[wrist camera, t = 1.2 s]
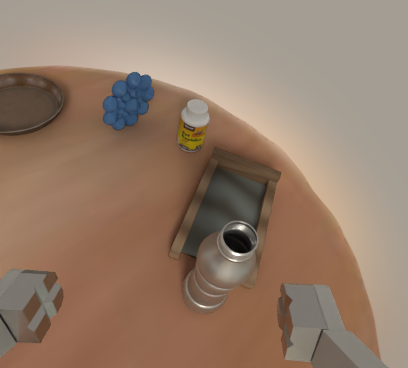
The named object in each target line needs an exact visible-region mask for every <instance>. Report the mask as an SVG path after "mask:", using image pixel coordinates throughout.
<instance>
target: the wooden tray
mask: <svg viewBox="0 0 408 368" xmlns="http://www.w3.org/2000/svg"><path fill="white" fill-rule="evenodd" d="M280 176H281V172H279V171H277V170H274V169H272V168H269V167H266V166H264V165H261V164H258V163H256V162H253V161H251V160H248V159H245V158H243V157H240V156H237V155H235V154H232V153H230V152H227V151H224V150H222V149H219V148H216V147H215V148H214V150H213V153H212V156H211V159H210V161H209V163H208V166H207V168H206V170H205V172H204V175H203V177H202V179H201V181H200V184H199V186H198V188H197V190H196V193H195V195H194V197H193V200H192V202H191V204H190V206H189V209H188V211H187V213H186V215H185V218H184V220H183V222H182V225H181V227H180V229H179V231H178V234H177V236H176V238H175V240H174V243H173V245H172V247H171V250H170V253H169V257H171V258H173V259H176V260H178V259H179V257H180V254H181V252H183V253H185V254H188V255H190V256H193V257H195V258H197V253H198V249H199V247H200V245H201V243H202V242H203V240H204V239H205V238H206V237H208V236H209V235H211V234H213V233H214V232H217V231H220V230H222V229H223V228H224V226H225V225H226V224H228V223H229V222H232V221H243V222H246V223H248V224H250V225H251V226H252V227H253V228H254V229H255V230H256V232H257V235H258V239H259V241H258V246H257V248H256V250H255V254H256V264H255V269H254V272H253V274H252V276H251V277H250V278H249V279H248V280H247V281H246V282H245V283H243V284H242V285H241V286H243V287H246V288H248V289H251V288H252V287H253V286H254V285H255V282H256V277H257V273H258V268H259V263H260V259H261V254H262V249H263V245H264V240H265V235H266V231H267V226H268V221H269V217H270V212H271V207H272V203H273V198H274V193H275V189H276V184H277V182H278V180H279V179H280Z"/></svg>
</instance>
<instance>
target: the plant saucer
mask: <svg viewBox="0 0 408 368" xmlns="http://www.w3.org/2000/svg"><path fill="white" fill-rule="evenodd" d="M63 103H64V95H63V92H62V90H61V89H60V87H59V86H58V85H57V84H56V83H54V82H53V81H51V80H50V79H48V78H45V77H43V76H39V75H35V74H29V73H8V74H2V75H0V135H9V136H13V135H23V134H28V133H32V132H35V131H37V130H39V129H41V128H43V127H45V126H46V125H48V124H49V123H50V122H52V121H53V120H54V119H55V117H56V116H57V115H58V114H59V112H60V110H61V108H62V106H63Z"/></svg>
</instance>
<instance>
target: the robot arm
mask: <svg viewBox="0 0 408 368" xmlns="http://www.w3.org/2000/svg"><path fill="white" fill-rule="evenodd" d="M57 279H58V277H57V275H56V273H55V272H48V271H35V270H21V269H12V270H10V271H8V272H7V273H6V274H5V275H4V276H3V278H2V279H1V280H0V358H1V357H2V356H3V355H4V354H5V353H6V352H8V351H9V350H10V349H11V348H12V347H13V346H14V345H16V342H25V343H41V341H42V339H43V338H44V336H45V334H46V332H47V331H48V329H49V327H50V325H51V323H50V318H51V317H53V316H54V315H55V314H57V313H58V311H59V309H60V307H61V305H62V301H63V290H62V287H61V286H60V285H59V284H57V283H56V281H57ZM280 292H281V297H280V298H278V304H277V316H278V324H279V327H280V328H281V329H282V331H283V333H282V337H281V342H282V348H283V353H284V359H285V360H295V361H305V362H311V364H312V366H313V367H314V368H388V367H387V366H386V365H385V364H384V363H383V362H382V361H381V360H380V359H379V358H378V357H377V356H376V355H375V354H374V353H373V352H372V351H371V350H370V349H368V348H367V347H366V346H365V345H364V344H363V343H362V342H361V341H360V340H359V339H358V338H357V337H356V336H355V335H354V334H353V333H352V332H351V331H346V330H345V327H344V324H343V322H342V319H341V316H340V314H339V311H338V309H337V306H336V303H335V301H334V298H333V295H332V293H331V290H330V288H329V287H328V286H327V285H311V284H295V283H282V285H281V289H280Z"/></svg>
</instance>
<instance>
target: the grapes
mask: <svg viewBox="0 0 408 368" xmlns="http://www.w3.org/2000/svg"><path fill="white" fill-rule="evenodd" d="M151 83H152V80H151V77H150V76H149V75H143V76H140V74H139V73H137V72H132V73H130V74H129V75H128V76H127V78H126V82H125V81H121V80H119V81H117V82H116V83H115V84H114V85H113V87H112V93H113V95H114V96H108V97H107V98H105V100H104V102H103V108H104V110H105V111H106V112H105V113H104V116H103V121H104V123H105V124H107V125H112V127H113V128H114V129H115V130H120V129H123V128H124V127H125V124H126V125H128V126H132V125H134V124H136V122H137V120H138V115H143V114H145V113H147V111H148V108H149V104H148V102H147V101H150V100H151V99H152V98H153V96H154V89H153V88H152V87H151ZM137 114H138V115H137Z"/></svg>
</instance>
